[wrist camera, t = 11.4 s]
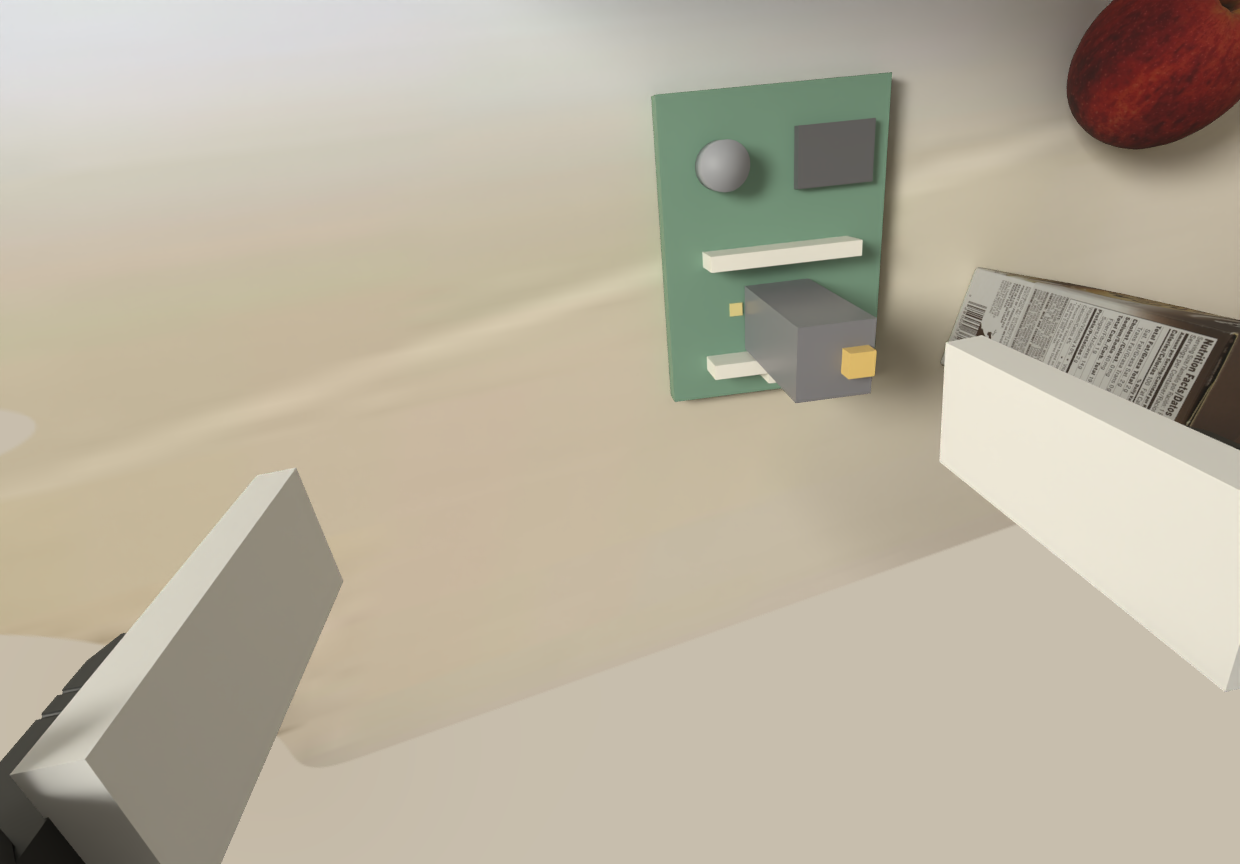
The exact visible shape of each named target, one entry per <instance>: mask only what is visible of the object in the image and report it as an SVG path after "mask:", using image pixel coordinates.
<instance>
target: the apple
mask: <svg viewBox="0 0 1240 864" xmlns="http://www.w3.org/2000/svg"><path fill="white" fill-rule="evenodd" d="M1067 98H1068V103H1069V106H1070V109H1071V112H1072V114H1073V116H1074V118H1075V119H1076V120H1077V122H1078V123H1079V124H1080V125H1081V127H1082V128H1083V129H1084V130H1085V131H1087V132H1088V133H1089V134H1090V135H1091V136H1093V137H1094V138H1096V139H1098V140H1100V141H1102V142H1104V143H1106V144H1109V145H1112V146H1116V147H1120V148H1127V149H1145V148H1151V147H1156V146H1160V145H1164V144H1168V143H1171V142H1174V141H1177V140H1179V139H1182V138H1184V137H1186V136H1188V135H1190V134H1193V133H1195V132H1196V131H1198V130H1200V129H1202V128H1204V127H1205V126H1207V125H1209V124H1210V123H1212V122H1213V121H1214V120H1216V119H1217V118H1219V117H1220V116H1222V115H1223V114H1224V113H1225V112H1226V111H1228V110H1229V109H1230V108H1231V107H1232V106H1233V105H1235V104H1236V103H1237V102H1238V101H1239V100H1240V0H1113V1H1112V2H1111V3H1110V4H1109V5H1108V6H1107V7H1106V8H1105V9H1104V10H1103V11H1102V12H1101V13H1100V14H1099V15H1098V16H1097V18H1096V19H1095V20H1094V22H1093V23H1092V24H1091V26H1090V27H1089V28H1088V30H1087V31H1086V33H1085V34H1084V36H1083V38H1082V40H1081V42H1080V44H1079V45H1078V48H1077V50H1076V52H1075V54H1074V56H1073V59H1072V61H1071V65H1070V68H1069V73H1068V80H1067Z"/></svg>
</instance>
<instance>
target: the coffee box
mask: <svg viewBox="0 0 1240 864" xmlns="http://www.w3.org/2000/svg"><path fill="white" fill-rule="evenodd" d="M981 335H983V336H985V337H987V338H989V339H991V340H994V341H996V342H998V343H1000V344H1003V345H1005V346H1007V347H1009V348H1012V349H1014V350H1016V351H1018V352H1021V353H1023V354H1025V355H1027V356H1030V357H1032V358H1034V359H1036V360H1039V361H1041V362H1043V363H1045V364H1047V365H1050V366H1052V367H1054V368H1056V369H1059V370H1061V371H1063V372H1065V373H1068V374H1070V375H1072V376H1074V377H1077V378H1079V379H1081V380H1083V381H1086V382H1088V383H1090V384H1092V385H1095V386H1097V387H1099V388H1101V389H1103V390H1106V391H1108V392H1110V393H1112V394H1115V395H1117V396H1119V397H1121V398H1124V399H1126V400H1128V401H1130V402H1133V403H1135V404H1137V405H1139V406H1142V407H1144V408H1146V409H1148V410H1151V411H1153V412H1155V413H1157V414H1159V415H1162V416H1164V417H1166V418H1168V419H1171V420H1173V421H1175V422H1177V423H1180V424H1183V425H1187V426H1191V427H1195V428H1199V429H1203V430H1207V431H1210V432H1213V433H1215V434H1218V435H1220V436H1222V437H1224V438H1227V439H1229V440H1231V441H1234V442H1236V443H1238V444H1240V320H1236V319H1232V318H1227V317H1223V316H1218V315H1214V314H1210V313H1206V312H1201V311H1197V310H1193V309H1189V308H1185V307H1180V306H1175V305H1171V304H1166V303H1162V302H1157V301H1153V300H1148V299H1144V298H1139V297H1134V296H1130V295H1125V294H1121V293H1116V292H1111V291H1106V290H1101V289H1096V288H1091V287H1086V286H1081V285H1075V284H1070V283H1065V282H1059V281H1053V280H1047V279H1042V278H1036V277H1030V276H1024V275H1018V274H1012V273H1007V272H1002V271H996V270H991V269H986V268H979V267H978V268H976V270H975V272H974V274H973V277H972V280H971V282H970V285H969V288H968V290H967V293H966V296H965V298H964V301H963V304H962V306H961V309H960V312H959V314H958V317H957V320H956V322H955V325H954V328H953V330H952V333H951V336H950V339H949V341H948V342H950V341H955V340H960V339H965V338H971V337H976V336H981ZM941 364H942V366H944V365H945V352H944V354H943V357H942V360H941Z"/></svg>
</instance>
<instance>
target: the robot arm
mask: <svg viewBox="0 0 1240 864" xmlns="http://www.w3.org/2000/svg"><path fill="white" fill-rule="evenodd" d="M940 463H942V464H943V465H944V466H945V467H947V468H948V469H949V470H950V471H952V472H953V473H954V474H955V475H957V476H958V477H959V478H960V479H962V480H963V481H964V482H965V483H966V484H968V485H969V486H970V487H971V488H973V489H974V490H975V491H976V492H978V493H979V494H980V495H981V496H983V497H984V498H985V499H986V500H988V501H989V502H990V503H991V504H993V505H994V506H995V507H996V508H997V509H999V510H1000V511H1001V512H1002V513H1004V514H1005V515H1006V516H1007V517H1009V518H1010V519H1011V520H1012V521H1014V522H1015V523H1016V524H1017V525H1019V526H1020V527H1021V528H1022V529H1024V530H1025V531H1026V532H1027V533H1028V534H1030V535H1031V536H1032V537H1033V538H1035V539H1036V540H1037V541H1038V542H1040V543H1041V544H1042V545H1043V546H1045V547H1046V548H1047V549H1048V550H1050V551H1051V552H1052V553H1053V554H1054V555H1056V556H1057V557H1058V558H1059V559H1061V560H1062V561H1063V562H1064V563H1066V564H1067V565H1068V566H1069V567H1071V568H1072V569H1073V570H1074V571H1076V572H1077V573H1078V574H1079V575H1081V576H1082V577H1083V578H1084V579H1085V580H1087V581H1088V582H1089V583H1090V584H1092V585H1093V586H1094V587H1095V588H1097V589H1098V590H1099V591H1100V592H1102V593H1103V594H1104V595H1105V596H1107V597H1108V598H1109V599H1110V600H1111V601H1113V602H1114V603H1115V604H1116V605H1118V606H1119V607H1120V608H1121V609H1123V610H1124V611H1125V612H1126V613H1128V614H1129V615H1130V616H1131V617H1133V618H1134V619H1135V620H1136V621H1137V622H1139V623H1140V624H1141V625H1142V626H1144V627H1145V628H1146V629H1147V630H1149V631H1150V632H1151V633H1152V634H1154V635H1155V636H1156V637H1157V638H1159V639H1160V640H1161V641H1162V642H1164V643H1165V644H1166V645H1167V646H1169V647H1170V648H1171V649H1172V650H1173V651H1175V652H1176V653H1177V654H1178V655H1180V656H1181V657H1182V658H1183V659H1185V660H1186V661H1187V662H1189V663H1190V664H1191V665H1192V666H1193V667H1195V668H1196V669H1197V670H1199V671H1200V672H1201V673H1202V674H1203V675H1205V676H1206V677H1207V678H1208V679H1209V680H1211V681H1212V682H1213V683H1214V684H1216V685H1217V686H1218V687H1219V688H1221V689H1222V690H1223V691H1224V692H1227V691H1231V690H1237V689H1240V444H1238V443H1236V442H1234V441H1231V440H1229V439H1227V438H1224V437H1222V436H1220V435H1218V434H1215V433H1213V432H1210V431H1207V430H1203V429H1199V428H1195V427H1191V426H1187V425H1183V424H1180V423H1177V422H1175V421H1173V420H1171V419H1168V418H1166V417H1164V416H1162V415H1159V414H1157V413H1155V412H1153V411H1151V410H1148V409H1146V408H1144V407H1142V406H1139V405H1137V404H1135V403H1133V402H1130V401H1128V400H1126V399H1124V398H1121V397H1119V396H1117V395H1115V394H1112V393H1110V392H1108V391H1106V390H1103V389H1101V388H1099V387H1097V386H1095V385H1092V384H1090V383H1088V382H1086V381H1083V380H1081V379H1079V378H1077V377H1074V376H1072V375H1070V374H1068V373H1065V372H1063V371H1061V370H1059V369H1056V368H1054V367H1052V366H1050V365H1047V364H1045V363H1043V362H1041V361H1039V360H1036V359H1034V358H1032V357H1030V356H1027V355H1025V354H1023V353H1021V352H1018V351H1016V350H1014V349H1012V348H1009V347H1007V346H1005V345H1003V344H1000V343H998V342H996V341H994V340H991V339H989V338H987V337H985V336H983V335H981V336H976V337H971V338H965V339H960V340H955V341H950V342H946V346H945V365H944V385H943V404H942V423H941V443H940ZM342 583H343V579H342V577H341V574H340V572H339V570H338V567H337V565H336V562H335V560H334V558H333V555H332V553H331V550H330V548H329V546H328V543H327V541H326V538H325V536H324V533H323V531H322V529H321V526H320V524H319V521H318V519H317V517H316V514H315V512H314V509H313V507H312V505H311V502H310V500H309V497H308V495H307V493H306V490H305V488H304V485H303V483H302V481H301V478H300V476H299V473H298V471H297V469H296V468H292V469H287V470H282V471H277V472H271V473H266V474H261V475H257V476H256V477H255V478H254V479H253V480H252V482H251V483H250V484H249V485H248V486H247V488H246V489H245V490H244V491H243V493H242V494H241V495H240V496H239V497H238V499H237V500H236V501H235V502H234V503H233V505H232V506H231V507H230V508H229V509H228V511H227V512H226V513H225V514H224V516H223V517H222V518H221V519H220V520H219V522H218V523H217V524H216V525H215V526H214V528H213V529H212V530H211V531H210V533H209V534H208V535H207V536H206V537H205V539H204V540H203V541H202V542H201V543H200V545H199V546H198V547H197V548H196V550H195V551H194V552H193V553H192V554H191V556H190V557H189V558H188V559H187V560H186V562H185V563H184V564H183V565H182V566H181V568H180V569H179V570H178V571H177V573H176V574H175V575H174V576H173V577H172V579H171V580H170V581H169V582H168V583H167V585H166V586H165V587H164V588H163V590H162V591H161V592H160V593H159V594H158V596H157V597H156V598H155V599H154V600H153V602H152V603H151V604H150V605H149V607H148V608H147V609H146V610H145V611H144V613H143V614H142V615H141V616H140V617H139V619H138V620H137V621H136V622H135V623H134V625H133V626H132V627H131V628H130V630H129V631H128V632H127V633H123V634H120V635H119V636H118V637H117V638H115V639H114V640H113V641H112V642H110V643H109V644H108V645H106V646H105V647H104V648H103V649H101V650H100V651H99V652H98V653H96V654H95V655H94V656H92V657H91V658H90V659H89V660H87V661H86V662H85V664H84V665H83V666H82V667H81V669H79V671H78V672H77V673H76V674H75V675H74V676H73V678H72V679H71V680H70V681H69V682H68V683H67V685H66V686H65V687H64V688H63V690H62V691H63V694H62V695H57V696H56V697H55V699H54V700H53V701H52V702H51V703H50V705H49V706H48V707H47V708H46V709H45V710H44V711H43V713H42V719H39V720H36V721H35V722H34V723H33V724H32V725H31V727H30V728H29V729H28V730H27V731H26V732H25V734H24V735H23V736H22V737H21V738H20V739H19V741H18V742H17V743H16V744H15V745H14V747H13V748H12V749H11V750H10V751H9V753H7V755H6V756H5V757H4V758H3V759H2V761H1V762H0V864H221V862H222V860H223V857H224V855H225V853H226V850H227V848H228V846H229V844H230V841H231V839H232V837H233V834H234V832H235V830H236V828H237V825H238V823H239V821H240V818H241V816H242V814H243V811H244V809H245V807H246V805H247V802H248V800H249V797H250V795H251V793H252V791H253V788H254V786H255V784H256V781H257V779H258V777H259V774H260V772H261V770H262V768H263V765H264V763H265V761H266V758H267V756H268V754H269V751H270V749H271V747H272V745H273V742H274V740H275V738H276V735H277V733H278V731H279V728H280V726H281V724H282V721H283V719H284V717H285V715H286V712H287V710H288V708H289V705H290V703H291V701H292V698H293V696H294V694H295V692H296V689H297V687H298V685H299V682H300V680H301V678H302V675H303V673H304V671H305V668H306V666H307V664H308V662H309V659H310V657H311V655H312V652H313V650H314V648H315V645H316V643H317V641H318V638H319V636H320V634H321V632H322V629H323V627H324V625H325V622H326V620H327V618H328V615H329V613H330V611H331V608H332V606H333V604H334V602H335V599H336V597H337V595H338V592H339V590H340V588H341V585H342Z"/></svg>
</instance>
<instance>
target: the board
mask: <svg viewBox="0 0 1240 864" xmlns="http://www.w3.org/2000/svg"><path fill="white" fill-rule="evenodd" d="M891 80H892V72H890V73H879V74H869V75H858V76H848V77H837V78H827V79H816V80H806V81H795V82H784V83H774V84H763V85H753V86H742V87H732V88H721V89H711V90H700V91H690V92H679V93H668V94H658V95H654V96H652V97H651V100H652V116H653V131H654V146H655V161H656V176H657V192H658V207H659V222H660V237H661V252H662V268H663V283H664V298H665V313H666V328H667V344H668V359H669V374H670V389H671V396H672V398H673V400H674V401H675V402H678V401H685V400H693V399H701V398H708V397H716V396H724V395H732V394H739V393H747V392H755V391H763V390H770V389H778V388H781V387H780V386H779V385H778V384H777V383H776V382H775V380H774V379H773V378H772V377H771V376H770V375H769V374H768V373H767V372H766V371H765V370H764V369H763V367H762V366H761V365H760V364H759V363H758V362H757V361H756V360H755V359H754V358H753V357H752V356H751V355H750V353H749V352H748V351H747V350H746V349H745V286H749V285H757V284H765V283H774V282H782V281H790V280H799V279H807V278H809V279H810V280H812V281H814V282H816V283H817V284H819V285H821V286H823V287H824V288H826V289H828V290H829V291H831V292H833V293H835V294H836V295H838V296H840V297H841V298H843V299H845V300H847V301H848V302H850V303H852V304H853V305H855V306H857V307H859V308H860V309H862V310H864V311H865V312H867V313H869V314H871V315H872V316H874V317H876V318H877V307H878V291H879V275H880V258H881V242H882V226H883V210H884V193H885V177H886V161H887V145H888V129H889V112H890V96H891ZM875 339H876V335H875ZM874 349H875V347H874Z"/></svg>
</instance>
